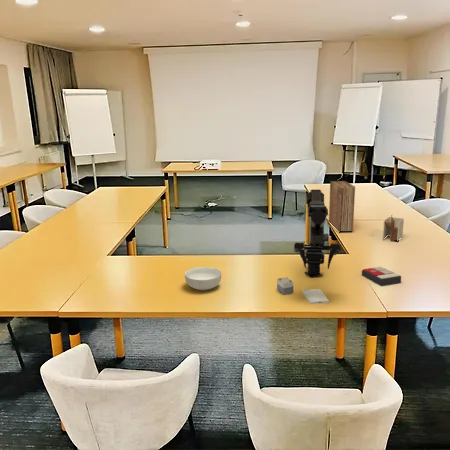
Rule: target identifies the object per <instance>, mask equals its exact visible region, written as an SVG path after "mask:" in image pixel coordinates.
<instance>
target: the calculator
mask: <svg viewBox="0 0 450 450" xmlns="http://www.w3.org/2000/svg"><path fill="white" fill-rule="evenodd" d="M361 276H362V277H363V278H365V279H367V280H369V281H371V282H373V283H375V284H376V285H378V286H379V287H386V286H392V285H393V286H394V285H397V284H401V282H402V275H400V274H398V273H395V272H394V271H393V270H390V269H387V268H386V267H383V266H375V267H369V268H363V269H362V270H361Z"/></svg>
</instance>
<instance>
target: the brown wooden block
mask: <svg viewBox="0 0 450 450" xmlns="http://www.w3.org/2000/svg"><path fill="white" fill-rule="evenodd" d="M329 182H330V183H329V206H328V208H329V210H328V223H329V222H330V223H331V224H332V225H333V226H334V227H335V228H336V229H337V230H338V231H339V232H340V231H353V232H354V222H355V221H354V219H355V202H356V200H355V198H356V197H355V196H356V186H355V185H353V184H352V183H350V182H347V181H346V180H341V179H340V180H330V181H329ZM340 233H341V232H340Z"/></svg>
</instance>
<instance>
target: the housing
mask: <svg viewBox="0 0 450 450" xmlns="http://www.w3.org/2000/svg"><path fill="white" fill-rule="evenodd" d="M294 282H295V281H293V280H291V279H290V278H289V277H281V278H277V279H276V291H278V292H279V293H280V294H281V295H282V296H285V295H290V294H291V295H292V294H294Z"/></svg>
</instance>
